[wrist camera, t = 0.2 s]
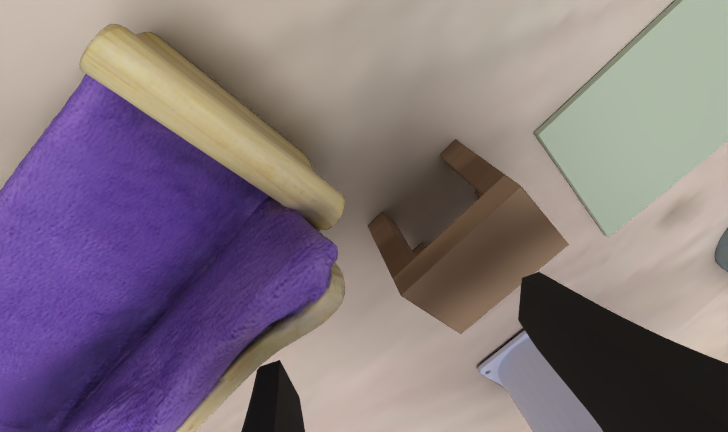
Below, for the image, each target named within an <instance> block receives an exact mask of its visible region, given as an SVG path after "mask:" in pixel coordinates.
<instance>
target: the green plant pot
mask: <svg viewBox="0 0 728 432" xmlns="http://www.w3.org/2000/svg"><path fill="white" fill-rule="evenodd" d="M715 259H716V261H717V263H718V264H719V265H720V266H721V267H722V268H723V269H725V270H726V271H728V229H727V230H726V231H725V233H724V234H723V236H722V238H721V239H720V241H719V244H718V246H717V248H716V252H715Z"/></svg>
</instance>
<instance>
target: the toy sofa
mask: <svg viewBox="0 0 728 432" xmlns="http://www.w3.org/2000/svg"><path fill="white" fill-rule="evenodd" d="M80 69H81V71H83V72H84V73H86V75H85V76H84V78H83V80H82V82H81V84H80V85H79V87H78V88H77V89H76V90H75V92H74V93H73V94H72V95H71V96H70V98H69V100H68V101H67V103H66V104H65V106H64V107H63V109H62V110H61V111H60V113H59V114H58V115H57V116H56V117H55V118H54V119H53V121H52V122H51V124H50V125H49V127H48V128H46V129H45V131H44V134H43V135H42V136H41V137H40V138H39V139H38V140H37V142H36V144H35V145H34V146H33V147H32V148H31V150H30V151H29V153H28V154H27V155H26V156H25V158H24V159H23V160H22V161H21V162H20V164H19V165H18V167H17V168H16V170H15V172H14V173H13V174H12V176H11V177H10V178H9V179H8V180H7V182H6V183H5V185H4V187H3V188H2V189H1V191H0V432H195V431H196V430H197V429H198V428H199V427H200V426H201V425H202V424H203V423H204V422H205V421H206V420H207V419H208V418H209V417H210V416H211V415H212V414H213V412H214V411H215V410H216V409H217V408H218V407H219V406H220V405H221V404H222V403H223V402H224V401H225V400H226V399H227V398H228V397H229V396H230V395H231V394H232V393H233V392H234V391H235V390H236V389H237V388H238V387H239V386H240V385H241V383H243V382H244V381H245V380H246V379H247V378H248V377H249V376H250V375H251V374H252V373H253V372H254V371H255V370H256V369H257V368H258V367H259V366H260V365H261V364H262V363H264V362H265V361H266V360H267V359H269V358H270V357H271V356H272V355H274V354H275V353H276V352H278V351H279V350H280V349H282V348H284V347H285V346H287V345H289V344H290V343H292V342H294V341H295V340H297V339H299V338H301V337H302V336H304V335H306V334H307V333H309V332H311V331H312V330H314V329H315V328H317V327H318V326H320V325H321V324H322V323H324V322H325V321H326V320H327V319H328V318H329V317H330V316H331V315H332V314H333V313H334V312H335V311H336V310H337V309H338V308H339V306H340V305H341V303H342V301H343V298H344V295H345V282H344V278H343V274H342V272H341V270H340V268H339V267H338V266H337V264H336V263H335V261H336V260H337V256H338V251H337V246H336V245H335V244H334V243H333V242H332V241H330V240H329V239H328V238H326V237H324V236H323V235H322V234H321V233H319V231H320V230H326V229H329V228H331V227H332V226H333V225H335V224H336V223H337V222H338V220H339V219H340V218H341V216H342V213H343V210H344V206H345V198H344V197H343V195H342V194H341V193H340V192H339V191H337V190H336V189H335V188H333V187H332V186H331V185H330V184H328V183H327V182H326V181H324V180H323V179H322V178H321V177H319V176H318V175H317V174H315V173H314V171H313V169H312V167H311V164H310V162H309V160H308V158H307V157H306V156H305V155H304V154H303V153H302V152H301V151H299V150H298V149H297V148H296V147H294V146H293V145H292V144H291V143H289V142H288V141H287V140H286V139H284V138H283V137H282V136H281V135H280V134H278V133H277V132H276V131H275V130H273V129H272V128H271V127H270V126H268V125H267V124H266V123H265V122H264V121H262V120H261V119H260V118H259V117H257V116H256V115H255V114H254V113H253V112H251V111H250V110H249V109H248V108H246V107H245V106H244V105H243V104H241V103H240V102H239V101H238V100H236V99H235V98H234V97H233V96H231V95H230V94H229V93H228V92H226V91H225V90H224V89H223V88H222V87H220V86H219V85H218V84H217V83H215V82H214V81H213V80H212V79H210V78H209V77H208V76H207V75H205V74H204V73H203V72H202V71H200V70H199V69H198V68H197V67H195V66H194V65H193V64H191V63H190V62H189V61H188V60H186V59H185V58H184V57H183V56H181V55H180V54H179V53H178V52H176V51H175V50H174V49H173V48H171V47H170V46H169V45H168V44H166V43H165V42H164V41H163V40H162V39H160V38H159V37H158V36H156V35H154V34H152V33H151V32H144V33H141V34H137V35H135V34H134V33H132V32H131V31H130V30H128V29H127V28H125V27H122V26H120V25H118V24H110V25H108V26H106V27H105V28H103V29H102V30H101V31H100V32H99V33H98V34H97V35H96V36H95V37H94V39H93V40H92V41H91V42H90V44H89V45H88V46H87V48H86V50H85V51H84V53H83V55H82V57H81V60H80Z"/></svg>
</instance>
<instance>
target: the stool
mask: <svg viewBox="0 0 728 432" xmlns="http://www.w3.org/2000/svg"><path fill="white" fill-rule="evenodd" d="M440 156H441V157H442V158H443V159H444V160H445V161H446V162H447V163H448V165H449V166H450V167H451V168H452V169H454V170H455V171H456V172H457V173H458V174H459V175H460V176H461V177H463V178H464V179H465V180H466V181H467V182H468V183H469V184H471V185H472V186H473V187H474V188H475V189H476V190H477V192H476V194H477V195H478V196H479V197H480V198H479V199H478V200H477V201H476V202H475V203H474V204H473V205H472V206H471V207H470V208H469V209H467V210H466V211H465V212H464V213H463V214H462V215H461V216H460V217H459V218H458V219H457V220H456V221H454V222H453V223H452V224H451V225H450V226H449V227H448V228H447V229H446V230H445V231H444V232H443V233H441V234H440V235H439V236H438V237H437V238H436V239H435V240H434V241H433V242H432V243H431V244H430V245H429V246H427V247H425V246H424V245H422V244H420V245H419V246H418V247H417V248H416V249H414V250H413V251H412V250H411V248H410V246H409V245H408V243H407V242H406V240H405V238H404V237H403V235H402V233H401V232H400V230H399V228H398V227H397V225H396V223H395V222H394V221H392V220H391V219H390V218H389V217H387V216H386V215H385V214H384V213H381V214H380V215H379V216H378V217H377V218H376V219H375V220H374V221H373V222H372V223H371V224H370V225H369V226H368V228H369V230H370V232H371V234H372V236H373V238H374V240H375V242H376V244H377V246H378V249H379V251H380V253H381V255H382V257H383V259H384V261H385V263H386V265H387V267H388V270H389V272H390V274H391V276H392V278H393V280H394V282H395V284H396V286H397V288H398V291H399V293H400V295H401V296H402V297H404V298H405V299H407V300H408V301H410V302H412V303H413V304H415V305H416V306H418V307H419V308H421V309H422V310H424V311H426V312H427V313H429V314H430V315H432V316H433V317H435V318H436V319H438V320H440V321H441V322H443V323H444V324H446V325H447V326H449V327H450V328H452V329H454V330H455V331H457V332H458V333H460V334H462V333H463V332H464V331H465V330H466V329H468V328H469V327H470V326H471V325H472V324H474V323H475V322H476V321H477V320H478V319H480V318H481V317H482V316H483V315H484V314H486V313H487V312H488V311H489V310H490V309H492V308H493V307H494V306H495V305H497V304H498V303H499V302H500V301H501V300H503V299H504V298H505V297H506V296H507V295H509V294H510V293H511V292H512V291H513V290H515V289H516V288H517V287H518V286H519V285H521V282H522V278H523V277H526V276H529V275H532V274H534V273H535V272H536V271H538V270H539V269H540V268H541V267H542V266H544V265H545V264H546V263H547V262H548V261H550V260H551V259H552V258H553V257H554V256H556V255H557V254H558V253H559V252H560V251H562V250H563V249H564V248H565V247H567V246H568V245H569V244H568V243H567V242H566V240H565V239H564V238H563V237H562V236H561V234H560V233H559V232H558V231H557V229H556V228H555V227H554V226H553V224H552V223H551V222H550V221H549V220H548V218H547V217H546V216H545V215H544V213H543V212H542V211H541V210H540V209H539V207H538V206H537V205H536V204H535V202H534V201H533V200H532V199H531V198H530V196H529V195H528V194H527V193H526V191H525V190H524V189H523V188H522V187H521V186H520V185H519V184H517V183H516V182H514V181H513V180H512V179H510V178H509V177H507V176H506V175H505V174H503V173H502V172H501V171H499V170H498V169H496V168H495V167H494V166H492V165H491V164H489V163H488V162H487V161H485V160H484V159H482V158H481V157H480V156H478V155H477V154H475V153H474V152H473V151H471V150H470V149H468V148H467V147H466V146H464V145H463V144H461V143H460V142H459V141H457V140H456V139H455V140H454V141H453V142H452V143H451V144H450V145H449V146H448V147H447V148H446V149H445V150H444V151H443V152H442V153H441V154H440Z"/></svg>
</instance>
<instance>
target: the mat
mask: <svg viewBox="0 0 728 432" xmlns="http://www.w3.org/2000/svg"><path fill="white" fill-rule="evenodd" d="M534 134H535V135H536V137H537V138H538V140H539V141H540V142H541V144H542V145H543V147H544V148H545V150H546V151H547V153H548V154H549V155H550V157H551V158H552V160H553V161H554V163H555V164H556V166H557V167H558V169H559V170H560V171H561V173H562V174H563V176H564V177H565V179H566V180H567V182H568V183H569V184H570V186H571V187H572V189H573V190H574V192H575V193H576V195H577V196H578V197H579V199H580V200H581V202H582V203H583V205H584V206H585V208H586V209H587V211H588V212H589V213H590V215H591V216H592V218H593V219H594V221H595V222H596V224H597V225H598V226H599V228H600V229H601V231H602V232H603V234H604V235H605V236H607V237H608V238H609V237H610V236H611V235H612V234H614V233H615V232H616V231H617V230H619V229H620V228H621V227H622V226H623V225H625V224H626V223H627V222H628V221H630V220H631V219H632V218H633V217H635V216H636V215H637V214H638V213H640V212H641V211H642V210H643V209H644V208H646V207H647V206H648V205H649V204H651V203H652V202H653V201H654V200H656V199H657V198H658V197H659V196H661V195H662V194H663V193H664V192H665V191H667V190H668V189H669V188H670V187H672V186H673V185H674V184H675V183H677V182H678V181H679V180H680V179H682V178H683V177H684V176H685V175H686V174H688V173H689V172H690V171H691V170H693V169H694V168H695V167H696V166H698V165H699V164H700V163H701V162H703V161H704V160H705V159H706V158H707V157H709V156H710V155H711V154H712V153H714V152H715V151H716V150H717V149H719V148H720V147H721V146H722V145H724V144H725V143H726V142H727V141H728V0H675V1H674V2H673V3H672V4H671V5H670V6H669V7H668V8H667V9H666V10H664V11H663V12H662V13H661V14H660V15H659V16H658V17H657V18H656V19H655V20H654V21H653V22H652V23H651V24H650V25H648V26H647V27H646V28H645V29H644V30H643V31H642V32H641V33H640V34H639V35H638V36H637V37H636V38H635V39H634V40H632V41H631V42H630V43H629V44H628V45H627V46H626V47H625V48H624V49H623V50H622V51H621V52H620V53H619V54H618V55H616V56H615V57H614V58H613V59H612V60H611V61H610V62H609V63H608V64H607V65H606V66H605V67H604V68H603V69H601V70H600V71H599V72H598V73H597V74H596V75H595V76H594V77H593V78H592V79H591V80H590V81H589V82H588V83H587V84H585V85H584V86H583V87H582V88H581V89H580V90H579V91H578V92H577V93H576V94H575V95H574V96H573V97H572V98H571V99H569V100H568V101H567V102H566V103H565V104H564V105H563V106H562V107H561V108H560V109H559V110H558V111H557V112H556V113H555V114H553V115H552V116H551V117H550V118H549V119H548V120H547V121H546V122H545V123H544V124H543V125H542V126H541V127H540V128H538V129H537V130H536V131H535V132H534Z"/></svg>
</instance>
